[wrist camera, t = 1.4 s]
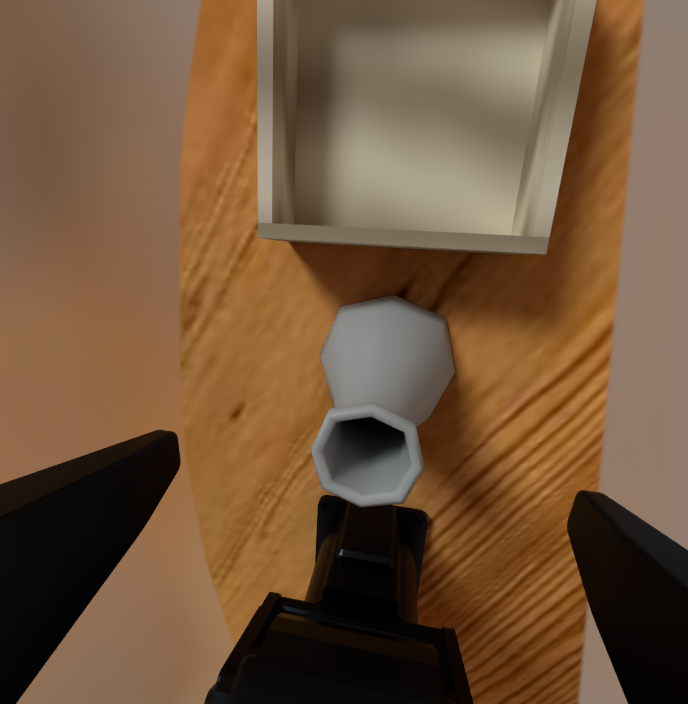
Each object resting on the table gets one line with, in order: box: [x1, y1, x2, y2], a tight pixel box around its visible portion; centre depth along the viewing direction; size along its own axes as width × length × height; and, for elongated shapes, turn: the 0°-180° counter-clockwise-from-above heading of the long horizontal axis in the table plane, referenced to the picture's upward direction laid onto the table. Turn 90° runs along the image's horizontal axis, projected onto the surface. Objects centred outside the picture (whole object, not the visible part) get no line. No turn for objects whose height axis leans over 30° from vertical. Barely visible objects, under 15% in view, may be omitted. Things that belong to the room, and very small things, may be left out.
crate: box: [257, 0, 597, 255], centre depth 15 cm, size 11×11×4 cm
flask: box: [311, 295, 455, 507], centre depth 15 cm, size 7×7×10 cm
